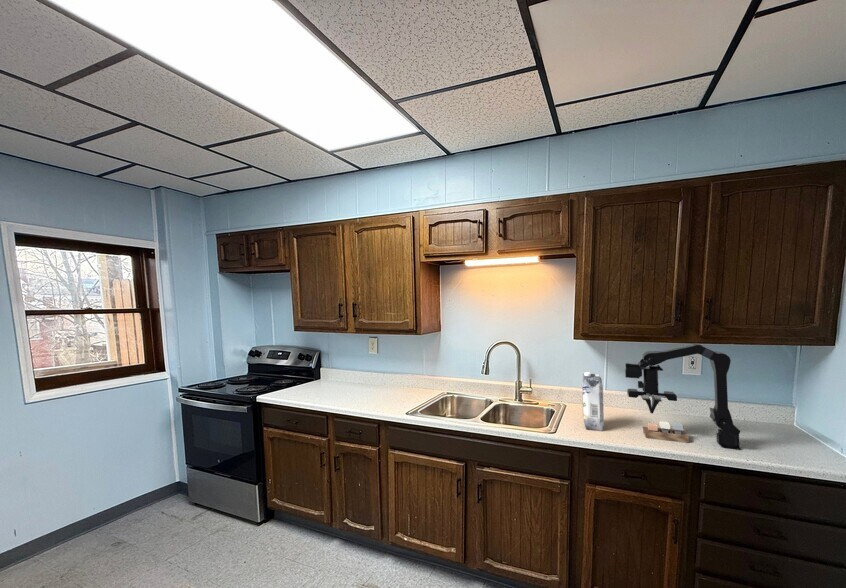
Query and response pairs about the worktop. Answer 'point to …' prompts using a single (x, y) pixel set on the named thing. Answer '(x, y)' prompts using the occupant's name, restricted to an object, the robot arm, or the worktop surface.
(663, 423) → the key ivory
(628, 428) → the worktop surface
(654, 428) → the key terracotta
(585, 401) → the juice carton
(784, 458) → the worktop surface
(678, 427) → the key slate
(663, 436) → the key panel
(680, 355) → the robot arm
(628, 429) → the worktop surface
